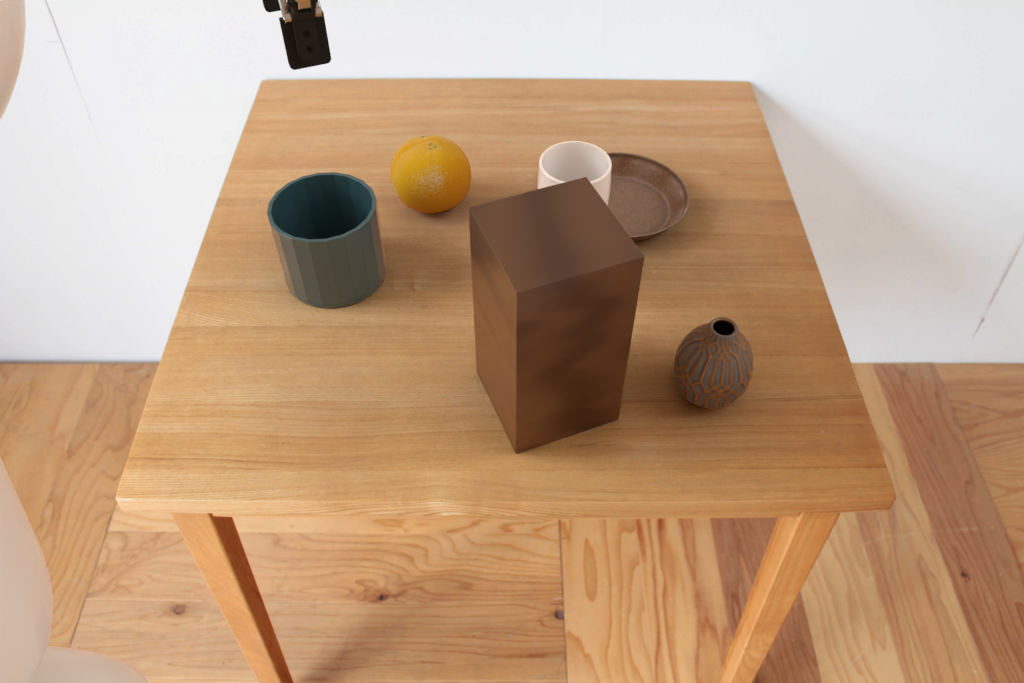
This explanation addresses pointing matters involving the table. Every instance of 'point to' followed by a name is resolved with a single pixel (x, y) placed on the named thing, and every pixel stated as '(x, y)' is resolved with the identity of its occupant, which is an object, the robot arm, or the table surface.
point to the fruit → (430, 174)
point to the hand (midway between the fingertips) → (296, 35)
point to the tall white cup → (576, 166)
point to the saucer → (645, 195)
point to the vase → (713, 364)
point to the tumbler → (328, 239)
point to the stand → (552, 310)
